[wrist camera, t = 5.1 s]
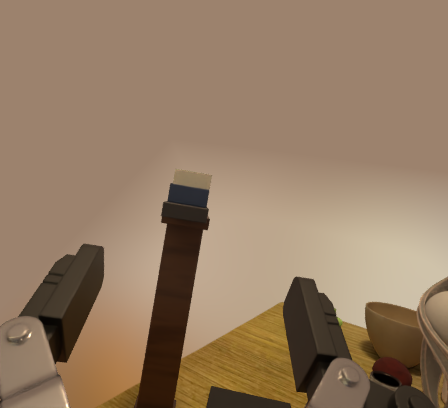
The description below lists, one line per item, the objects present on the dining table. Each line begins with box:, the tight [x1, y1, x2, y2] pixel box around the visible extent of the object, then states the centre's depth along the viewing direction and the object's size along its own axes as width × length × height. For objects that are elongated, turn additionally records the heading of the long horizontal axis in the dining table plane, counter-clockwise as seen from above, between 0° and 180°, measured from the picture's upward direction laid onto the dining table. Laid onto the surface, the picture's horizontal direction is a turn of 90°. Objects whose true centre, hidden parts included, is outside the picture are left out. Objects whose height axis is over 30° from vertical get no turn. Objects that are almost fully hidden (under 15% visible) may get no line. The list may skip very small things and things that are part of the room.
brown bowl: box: [365, 302, 423, 368], centre depth 84 cm, size 18×18×12 cm
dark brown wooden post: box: [134, 217, 210, 408], centre depth 46 cm, size 9×6×31 cm, turn 5°
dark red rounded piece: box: [372, 357, 412, 386], centre depth 69 cm, size 8×9×6 cm
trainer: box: [161, 169, 212, 224], centre depth 42 cm, size 18×5×6 cm, turn 5°
